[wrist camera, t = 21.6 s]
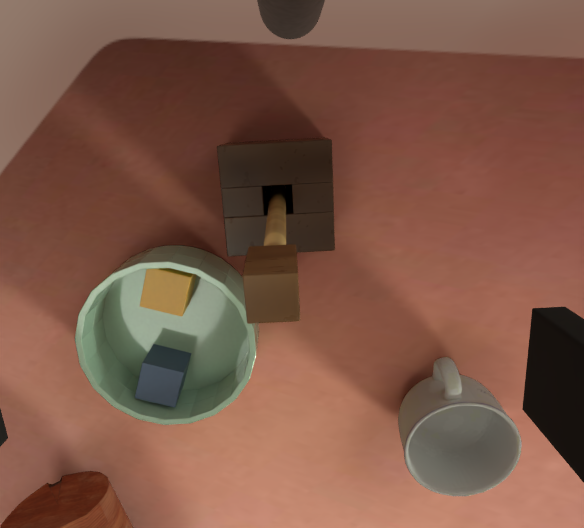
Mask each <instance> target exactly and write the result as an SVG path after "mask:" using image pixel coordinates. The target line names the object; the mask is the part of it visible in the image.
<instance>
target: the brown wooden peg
mask: <svg viewBox="0 0 584 528" xmlns="http://www.w3.org/2000/svg"><path fill="white" fill-rule="evenodd" d="M243 287H244V297H245V307H246V318H247V323H248V324H251V323H271V322H291V321H300V305H299V285H298V266H297V251H296V244H289V245H286V187H285V185H271V191H270V199H269V207H268V215H267V223H266V231H265V239H264V246H250V247H249V248H248V252H247V257H246V262H245V266H244V271H243Z"/></svg>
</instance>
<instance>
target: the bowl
mask: <svg viewBox="0 0 584 528" xmlns="http://www.w3.org/2000/svg"><path fill="white" fill-rule="evenodd" d="M158 268H171V269H175V270H179V271H183V272H187V273H192V274H196V275H197V276H196V280H195V284H194V289H193V293H192V298H191V301H190V303H189V305H188V307H187V309H186V311H185V313H184V314H183V316H182V317H181V316H177V315H173V314H169V313H165V312H161V311H156V310H152V309H148V308H144V307H140V306H139V305H140V300H141V295H142V290H143V285H144V280H145V275H146V269H158ZM258 336H259V323H251V324H248V323H247V318H246V307H245V297H244V287H243V278H242V276H241V275H240V274H239V273H238V272H237V271H236V270H235V269H234V268H233V267H232V266H231V265H230V264H228V263H227V262H225V261H224V260H223V259H221V258H219V257H218V256H216V255H214V254H212V253H209V252H207V251H204V250H202V249H198V248H194V247H189V246H182V245H169V246H160V247H156V248H152V249H148V250H146V251H144V252H141V253H139V254H137V255H135V256H133V257H131V258H130V259H128V260H127V261H126V262H125V263H124V264H122V265H121V266H120V267H119V268H118V269H117V270H115V271H114V272H113V273H112V274H111V275H110V276H108V277H107V278H106V279H105V280H104V281H103V282H101V283H100V284H99V285H98V286H97V287H96V288H94V289H93V290H92V291H91V293H90V295H89V296H88V298H87V300H86V302H85V303H84V305H83V307H82V309H81V311H80V312H79V315H78V321H77V328H76V335H75V343H76V348H77V353H78V358H79V362H80V366H81V368H82V369H83V371H84V373H85V375H86V376H87V378H88V380H89V382H90V383H91V385H92V387H93V388H94V389H95V390H96V391H97V392H98V393H99V394H100V395H101V396H102V397H103V398H104V399H105V400H107V401H108V402H109V403H110V404H111V405H112V406H113V407H115V408H117V409H119V410H121V411H123V412H125V413H126V414H128V415H130V416H132V417H134V418H136V419H139V420H144V421H149V422H153V423H158V424H162V425H169V424H187V423H193V422H196V421H199V420H202V419H204V418H207V417H210V416H213V415H215V414H217V413H218V412H219V411H221V410H222V409H223V408H225V407H226V406H227V405H229V404H230V403H232V402H233V401H234V400H235V399H236V398H237V397H238V395H239V394H240V392H241V391H242V390H243V388H244V387H245V385H246V384H247V382H248V381H249V379H250V376H251V373H252V369H253V365H254V361H255V358H256V352H257V344H258ZM153 344H156V345H160V346H164V347H168V348H173V349H177V350H181V351H185V352H189V353H192V354H191V358H190V362H189V366H188V370H187V374H186V378H185V382H184V386H183V389H182V391H181V394H180V396H179V399H178V401H177V404H176V407H175V408H174V407H170V406H166V405H162V404H157V403H153V402H149V401H145V400H140V399H136V398H135V394H136V389H137V384H138V380H139V375H140V371H141V366H142V362H143V361H144V359H145V357H146V356H147V354H148V352H149V351H150V349H151V347H152V346H153Z"/></svg>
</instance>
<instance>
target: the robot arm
mask: <svg viewBox="0 0 584 528" xmlns="http://www.w3.org/2000/svg"><path fill="white" fill-rule="evenodd" d="M523 410H524V412H525V413H526V414H527V415H528V416H529V418H530V419H531V420H532V421H533V422H534V424H535V425H536V426H537V427H538V428H539V430H540V431H541V432H542V433H543V434H544V436H545V437H546V438H547V439H548V440H549V441H550V443H551V444H552V445H553V446H554V447H555V449H556V450H557V451H558V452H559V453H560V455H561V456H562V457H563V458H564V459H565V461H566V462H567V463H568V464H569V465H570V467H571V468H572V469H573V470H574V471H575V473H576V474H577V475H578V476H579V477H580V479H581V480H582V481H583V482H584V319H583V318H581V317H580V316H578V315H577V314H575V313H574V312H572V311H571V310H569V309H567V308H566V307H551V308H533V309H532V319H531V329H530V339H529V349H528V359H527V370H526V380H525V390H524V400H523ZM7 438H8V436H7V432H6V428H5V425H4V421H3V417H2V413H1V410H0V446H1V445H2V444H3V443H4V442H5V441H6V440H7Z"/></svg>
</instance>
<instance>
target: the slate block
mask: <svg viewBox="0 0 584 528" xmlns="http://www.w3.org/2000/svg"><path fill="white" fill-rule="evenodd" d="M191 354H192V353H189V352H185V351H181V350H177V349H173V348H168V347H164V346H160V345H156V344H153V346H152V347H151V349H150V351H149V352H148V354H147V356H146V357H145V359H144V361H143V362H142V366H141V371H140V375H139V380H138V384H137V389H136V394H135V398H136V399H140V400H145V401H149V402H153V403H157V404H162V405H166V406H170V407H174V408H175V407H176V404H177V401H178V399H179V396H180V394H181V391H182V389H183V386H184V382H185V378H186V374H187V370H188V366H189V362H190V358H191Z"/></svg>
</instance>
